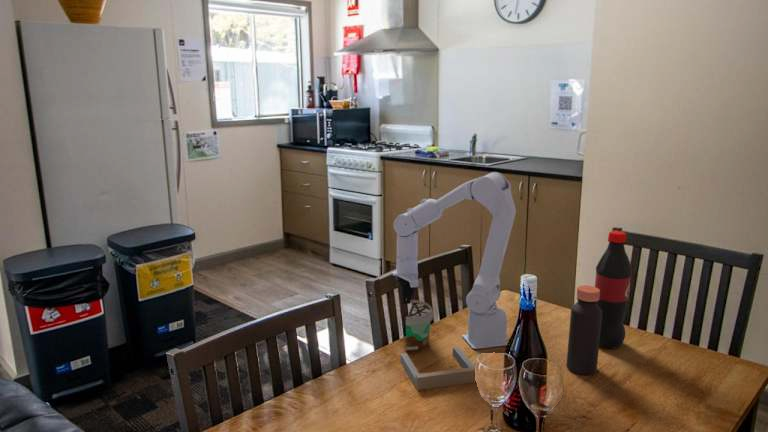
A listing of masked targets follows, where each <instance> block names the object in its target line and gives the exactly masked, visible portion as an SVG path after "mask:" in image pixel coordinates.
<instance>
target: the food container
mask: <svg viewBox="0 0 768 432" xmlns="http://www.w3.org/2000/svg"><path fill="white" fill-rule="evenodd" d="M433 311H434V310H433V308H432V306H431V305H430V304H429V303H427V302H425V301H422V300H418V299H417V300H416V299H412V306H411V308H410V309H409V313H408V316H405V353H410V354H411V353H419V352H422V351H424V350H427V348H428V347H429V339H430V329H431V322H432V321H433V319H434V316H435V315H434V312H433Z"/></svg>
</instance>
